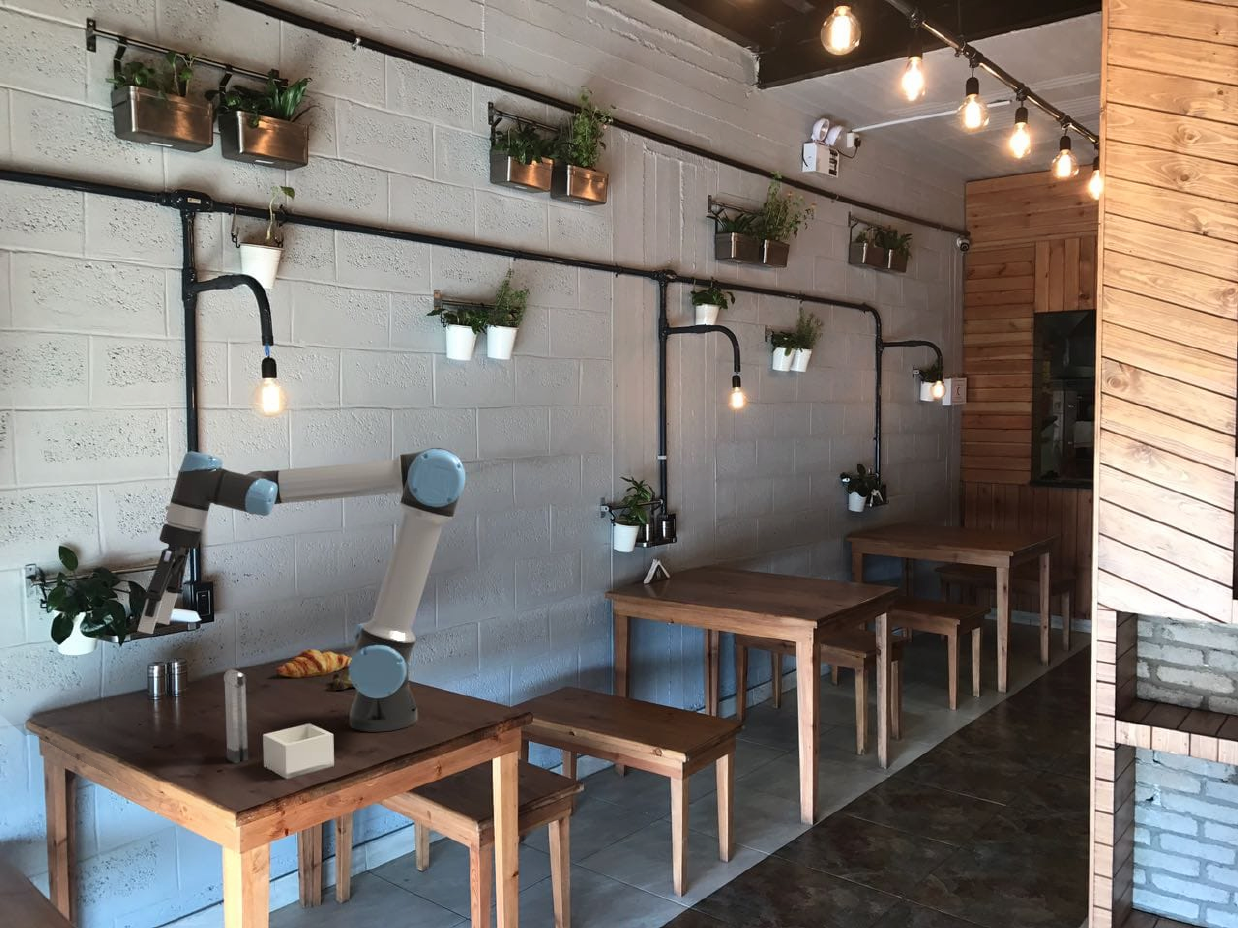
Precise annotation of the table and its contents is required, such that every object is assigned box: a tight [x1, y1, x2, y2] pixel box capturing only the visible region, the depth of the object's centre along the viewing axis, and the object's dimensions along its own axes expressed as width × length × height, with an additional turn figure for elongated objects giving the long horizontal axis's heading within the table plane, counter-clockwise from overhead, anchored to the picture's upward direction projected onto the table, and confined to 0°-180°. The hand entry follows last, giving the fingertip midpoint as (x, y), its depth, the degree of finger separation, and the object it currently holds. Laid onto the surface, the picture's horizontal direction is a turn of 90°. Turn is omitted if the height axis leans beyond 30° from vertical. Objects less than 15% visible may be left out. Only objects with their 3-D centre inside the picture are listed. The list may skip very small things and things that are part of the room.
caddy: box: [262, 722, 335, 780], centre depth 200 cm, size 10×10×6 cm
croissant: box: [276, 649, 353, 679], centre depth 273 cm, size 21×10×8 cm, turn 129°
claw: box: [331, 673, 355, 692], centre depth 256 cm, size 20×10×3 cm, turn 61°
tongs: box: [223, 669, 249, 764], centre depth 204 cm, size 3×5×18 cm, turn 44°
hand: (153, 627), depth 203 cm, fingers open, 13 cm apart
